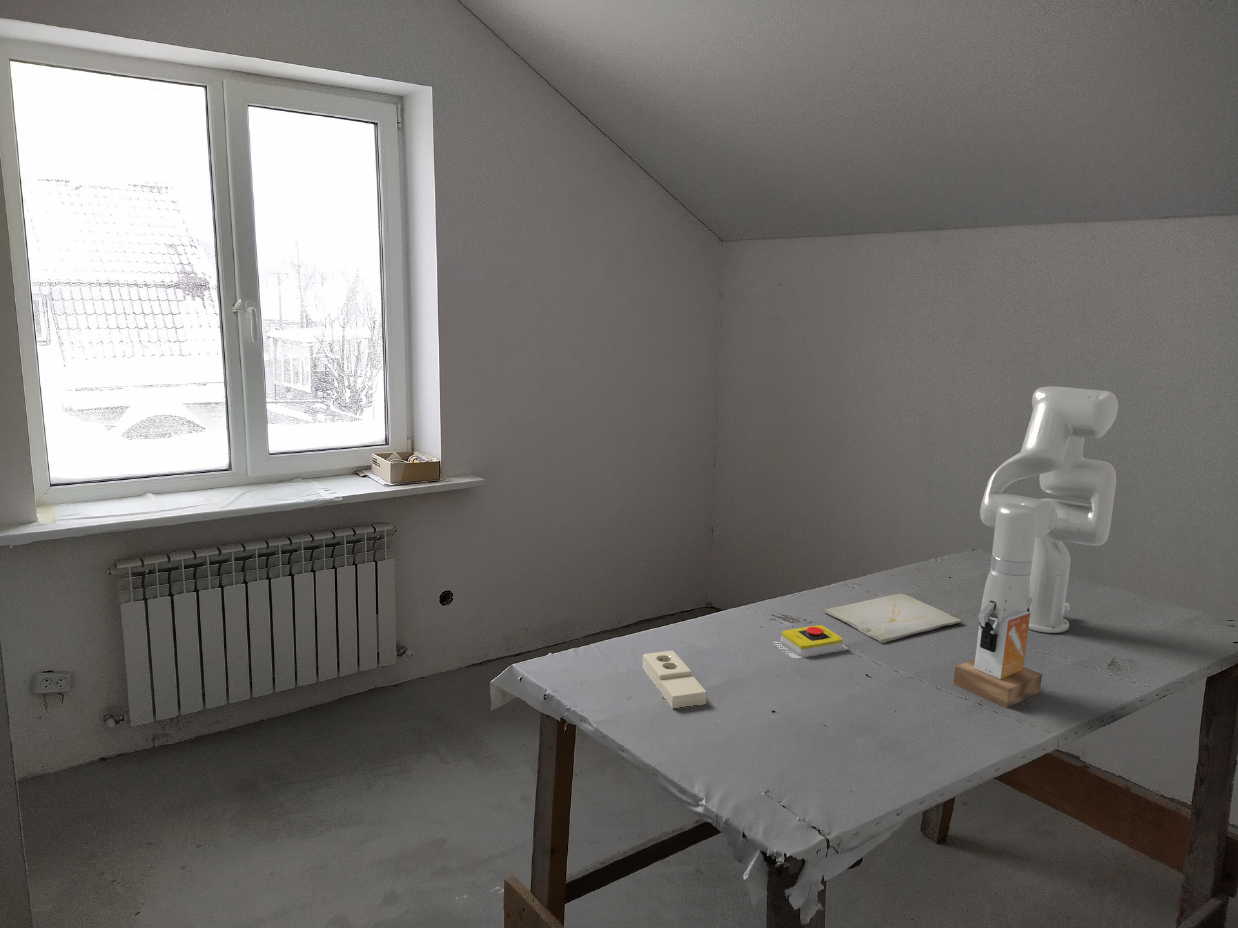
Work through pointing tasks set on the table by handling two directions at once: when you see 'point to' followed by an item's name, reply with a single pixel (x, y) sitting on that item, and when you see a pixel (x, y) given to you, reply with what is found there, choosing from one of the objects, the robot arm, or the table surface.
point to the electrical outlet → (673, 679)
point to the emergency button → (810, 641)
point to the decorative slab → (892, 617)
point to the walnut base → (998, 684)
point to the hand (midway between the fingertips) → (1001, 644)
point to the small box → (1005, 647)
